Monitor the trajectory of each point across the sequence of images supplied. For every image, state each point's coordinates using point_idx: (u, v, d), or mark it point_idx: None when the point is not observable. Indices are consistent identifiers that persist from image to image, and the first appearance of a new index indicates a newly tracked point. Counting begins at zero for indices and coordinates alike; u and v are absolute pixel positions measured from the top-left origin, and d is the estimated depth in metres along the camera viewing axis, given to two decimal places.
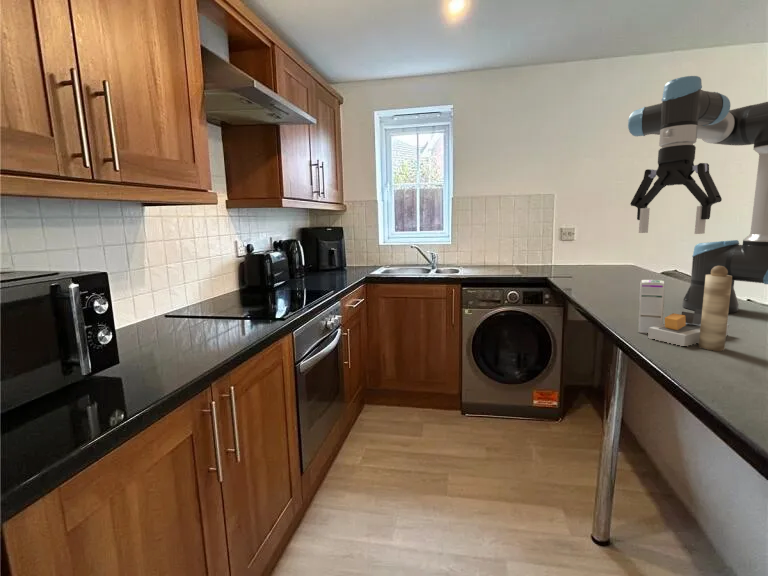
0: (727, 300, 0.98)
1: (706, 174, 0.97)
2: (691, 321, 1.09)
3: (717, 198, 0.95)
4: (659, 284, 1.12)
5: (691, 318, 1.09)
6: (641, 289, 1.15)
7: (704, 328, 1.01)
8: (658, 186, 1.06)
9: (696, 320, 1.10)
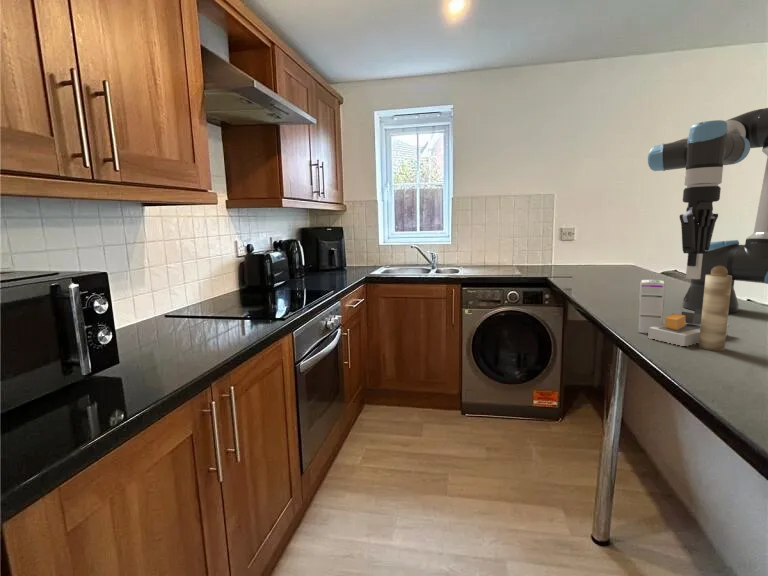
0: (727, 300, 0.98)
1: (685, 225, 1.05)
2: (691, 321, 1.09)
3: (686, 248, 1.06)
4: (659, 284, 1.12)
5: (691, 318, 1.09)
6: (641, 289, 1.15)
7: (704, 328, 1.01)
8: None
9: (696, 320, 1.10)
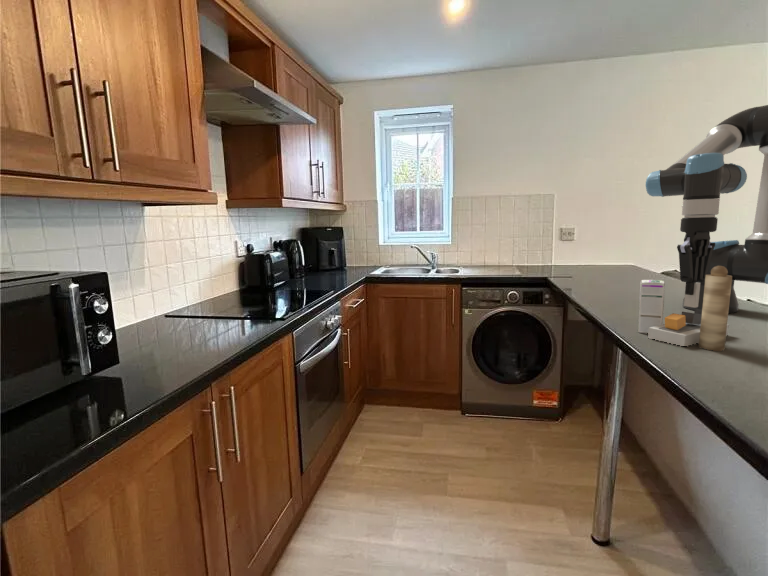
0: (727, 300, 0.98)
1: (682, 255, 1.06)
2: (691, 321, 1.09)
3: (683, 277, 1.08)
4: (659, 284, 1.12)
5: (691, 318, 1.09)
6: (641, 289, 1.15)
7: (704, 328, 1.01)
8: None
9: (696, 320, 1.10)
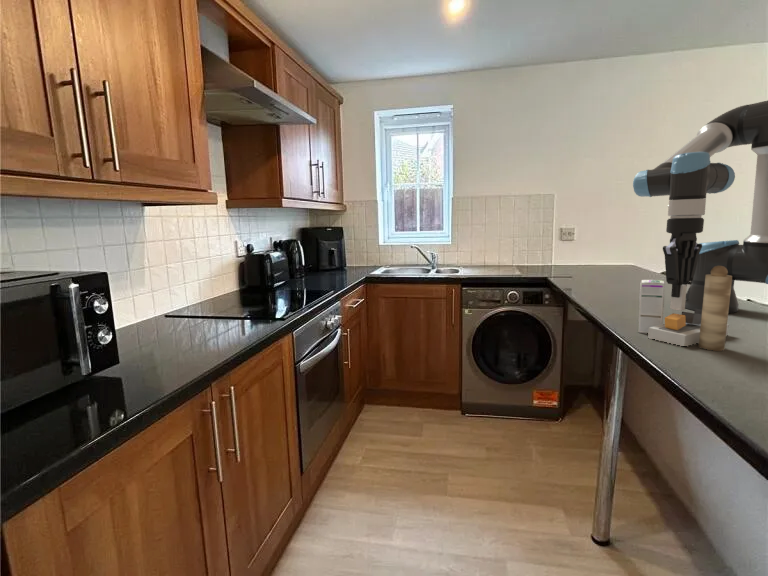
0: (727, 300, 0.98)
1: (668, 257, 1.03)
2: (691, 321, 1.09)
3: (669, 279, 1.05)
4: (659, 284, 1.12)
5: (691, 318, 1.09)
6: (641, 289, 1.15)
7: (704, 328, 1.01)
8: None
9: (696, 320, 1.10)
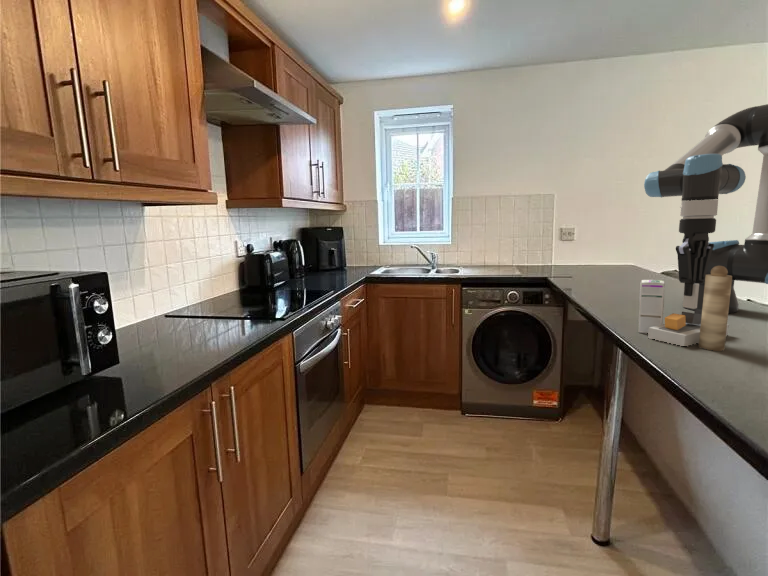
0: (727, 300, 0.98)
1: (681, 257, 1.06)
2: (691, 321, 1.09)
3: (682, 278, 1.07)
4: (659, 284, 1.12)
5: (691, 318, 1.09)
6: (641, 289, 1.15)
7: (704, 328, 1.01)
8: None
9: (696, 320, 1.10)
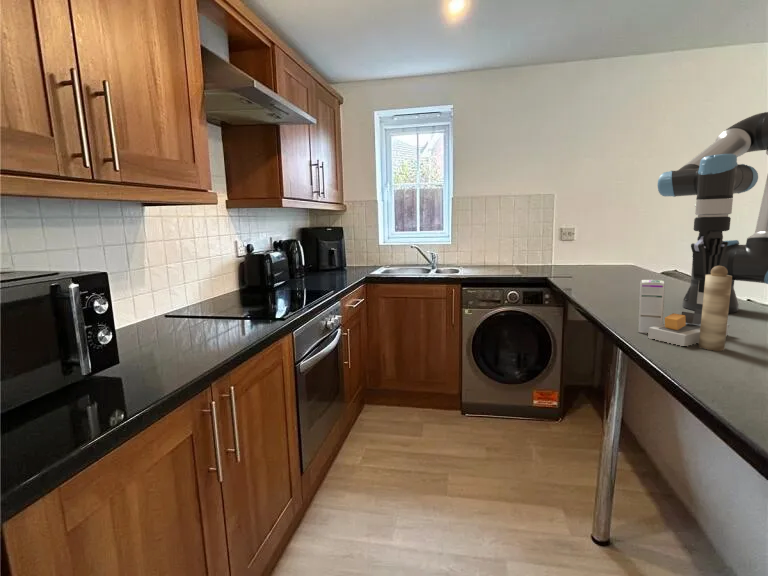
0: (727, 300, 0.98)
1: (696, 254, 1.08)
2: (691, 321, 1.09)
3: (697, 275, 1.10)
4: (659, 284, 1.12)
5: (691, 318, 1.09)
6: (641, 289, 1.15)
7: (704, 328, 1.01)
8: None
9: (696, 320, 1.10)
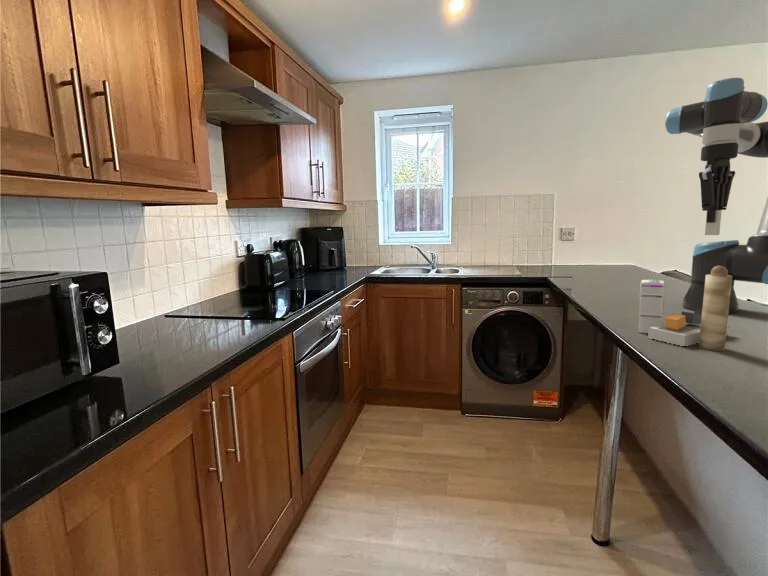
0: (727, 300, 0.98)
1: (704, 183, 1.08)
2: (691, 321, 1.09)
3: (705, 205, 1.10)
4: (659, 284, 1.12)
5: (691, 318, 1.09)
6: (641, 289, 1.15)
7: (704, 328, 1.01)
8: None
9: (696, 320, 1.10)
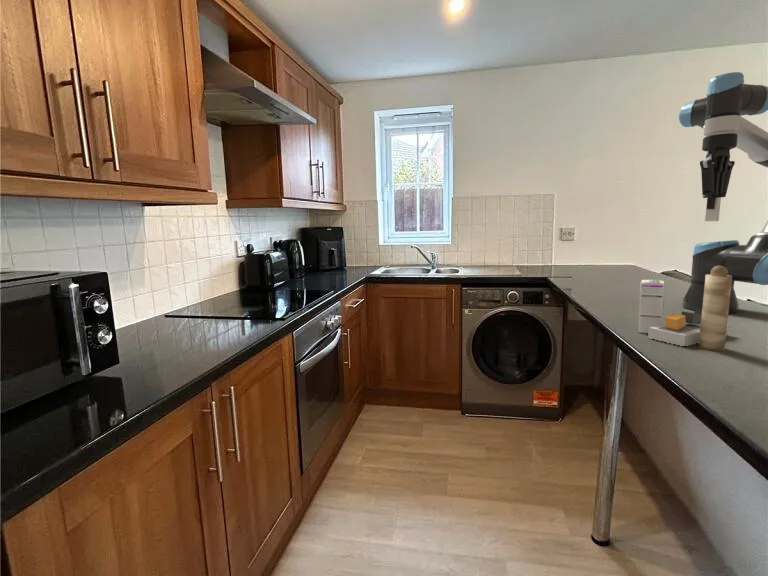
0: (727, 300, 0.98)
1: (704, 171, 1.14)
2: (691, 321, 1.09)
3: (705, 192, 1.16)
4: (659, 284, 1.12)
5: (691, 318, 1.09)
6: (641, 289, 1.15)
7: (704, 328, 1.01)
8: None
9: (696, 320, 1.10)
